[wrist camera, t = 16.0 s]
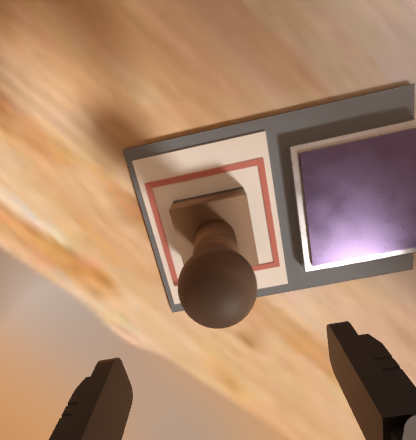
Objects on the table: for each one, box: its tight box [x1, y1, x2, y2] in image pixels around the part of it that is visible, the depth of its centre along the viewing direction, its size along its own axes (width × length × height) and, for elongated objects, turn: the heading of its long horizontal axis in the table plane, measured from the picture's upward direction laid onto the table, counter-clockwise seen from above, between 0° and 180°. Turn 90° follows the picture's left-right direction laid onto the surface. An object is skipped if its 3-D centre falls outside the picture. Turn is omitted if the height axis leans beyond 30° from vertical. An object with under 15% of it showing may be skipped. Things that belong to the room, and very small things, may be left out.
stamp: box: [169, 187, 259, 328], centre depth 20 cm, size 6×6×12 cm
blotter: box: [123, 84, 414, 312], centre depth 25 cm, size 23×16×1 cm
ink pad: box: [286, 118, 416, 272], centre depth 24 cm, size 10×11×2 cm
